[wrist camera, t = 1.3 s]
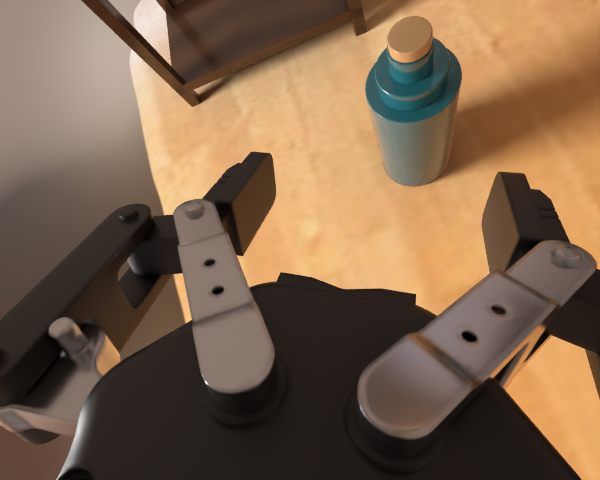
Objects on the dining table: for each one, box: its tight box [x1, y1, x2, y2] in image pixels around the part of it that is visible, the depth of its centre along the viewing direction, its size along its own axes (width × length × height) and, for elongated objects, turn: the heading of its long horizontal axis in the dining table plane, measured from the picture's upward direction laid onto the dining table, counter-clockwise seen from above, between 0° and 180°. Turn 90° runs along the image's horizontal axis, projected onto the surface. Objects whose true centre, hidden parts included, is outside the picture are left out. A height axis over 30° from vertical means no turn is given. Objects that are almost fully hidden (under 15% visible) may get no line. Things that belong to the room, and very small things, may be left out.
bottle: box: [365, 16, 462, 186], centre depth 26 cm, size 6×6×15 cm
